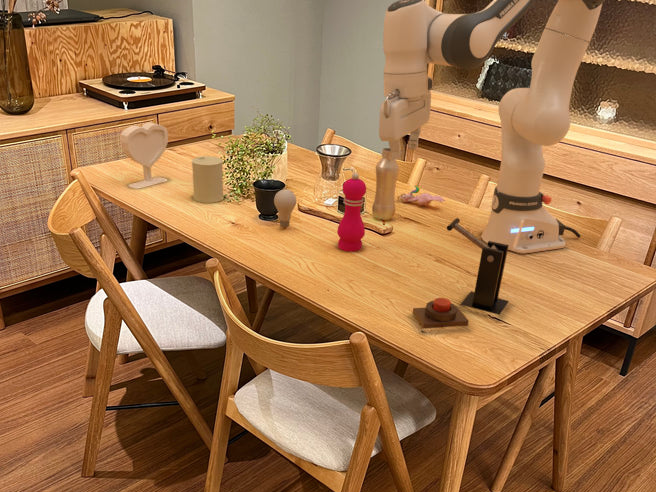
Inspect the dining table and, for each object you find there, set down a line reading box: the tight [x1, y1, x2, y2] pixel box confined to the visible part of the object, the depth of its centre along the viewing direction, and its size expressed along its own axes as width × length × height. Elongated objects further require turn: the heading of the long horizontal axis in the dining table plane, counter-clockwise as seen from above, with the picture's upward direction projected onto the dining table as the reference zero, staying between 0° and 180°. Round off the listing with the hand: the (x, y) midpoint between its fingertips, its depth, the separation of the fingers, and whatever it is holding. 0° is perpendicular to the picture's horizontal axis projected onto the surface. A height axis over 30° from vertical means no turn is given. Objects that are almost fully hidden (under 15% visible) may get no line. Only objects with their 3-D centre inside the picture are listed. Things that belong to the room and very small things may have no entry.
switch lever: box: [446, 217, 501, 251], centre depth 153 cm, size 13×6×2 cm, turn 61°
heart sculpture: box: [119, 122, 169, 189], centre depth 220 cm, size 16×5×18 cm, turn 138°
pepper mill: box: [336, 172, 367, 253], centre depth 181 cm, size 7×7×20 cm
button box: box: [412, 300, 469, 334], centre depth 151 cm, size 10×7×4 cm
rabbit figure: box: [396, 185, 446, 207], centre depth 215 cm, size 6×6×15 cm
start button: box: [433, 297, 452, 312], centre depth 149 cm, size 4×4×2 cm
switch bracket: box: [460, 241, 509, 316], centre depth 155 cm, size 9×8×15 cm
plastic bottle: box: [371, 147, 400, 221], centre depth 200 cm, size 6×7×20 cm
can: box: [191, 155, 225, 204], centre depth 212 cm, size 9×9×12 cm
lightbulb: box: [273, 188, 297, 230], centre depth 193 cm, size 6×6×11 cm
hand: (405, 153), depth 152 cm, fingers open, 8 cm apart
